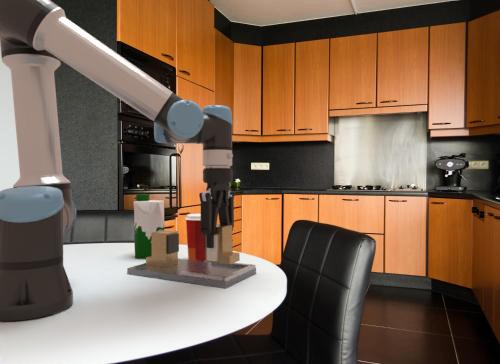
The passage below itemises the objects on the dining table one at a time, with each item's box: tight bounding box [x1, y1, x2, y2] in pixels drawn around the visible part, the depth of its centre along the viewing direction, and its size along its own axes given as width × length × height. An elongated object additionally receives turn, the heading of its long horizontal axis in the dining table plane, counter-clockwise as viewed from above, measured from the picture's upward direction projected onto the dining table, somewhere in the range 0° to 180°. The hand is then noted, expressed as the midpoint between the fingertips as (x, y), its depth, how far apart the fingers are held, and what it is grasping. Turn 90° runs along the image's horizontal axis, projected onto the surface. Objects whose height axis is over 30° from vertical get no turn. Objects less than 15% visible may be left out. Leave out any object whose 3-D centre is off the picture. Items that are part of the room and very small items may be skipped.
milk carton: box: [133, 193, 165, 260], centre depth 127 cm, size 9×9×20 cm
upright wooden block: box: [204, 223, 241, 264], centre depth 100 cm, size 5×8×9 cm, turn 63°
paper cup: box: [184, 213, 206, 262], centre depth 122 cm, size 8×8×14 cm
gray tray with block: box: [126, 229, 257, 289], centre depth 104 cm, size 16×30×10 cm, turn 63°
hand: (218, 258), depth 101 cm, fingers closed on upright wooden block, 5 cm apart
